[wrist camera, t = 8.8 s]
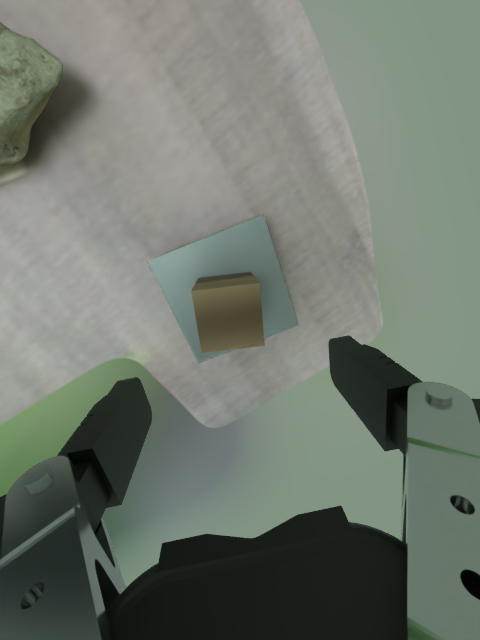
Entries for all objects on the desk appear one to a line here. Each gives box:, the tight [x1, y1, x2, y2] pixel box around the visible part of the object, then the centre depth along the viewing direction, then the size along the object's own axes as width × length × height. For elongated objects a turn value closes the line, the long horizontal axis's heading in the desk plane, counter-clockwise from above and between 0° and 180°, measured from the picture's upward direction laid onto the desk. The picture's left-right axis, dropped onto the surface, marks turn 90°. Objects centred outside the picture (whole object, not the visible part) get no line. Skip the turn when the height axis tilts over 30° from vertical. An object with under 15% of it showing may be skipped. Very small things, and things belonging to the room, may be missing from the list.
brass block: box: [191, 272, 265, 353], centre depth 21 cm, size 5×5×6 cm
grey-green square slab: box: [147, 214, 299, 363], centre depth 26 cm, size 11×11×5 cm
